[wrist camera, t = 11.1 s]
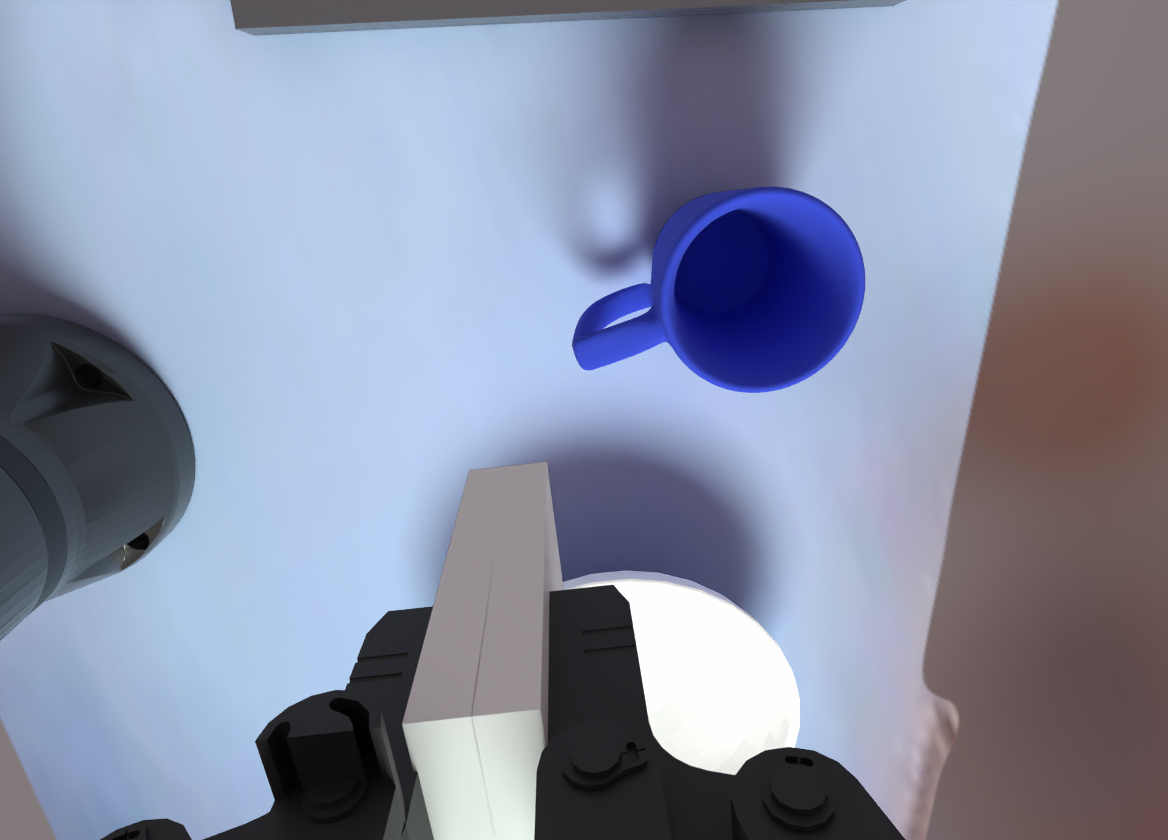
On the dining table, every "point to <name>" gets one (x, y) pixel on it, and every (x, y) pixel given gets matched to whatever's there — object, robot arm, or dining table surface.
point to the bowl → (706, 671)
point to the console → (486, 12)
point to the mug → (739, 292)
